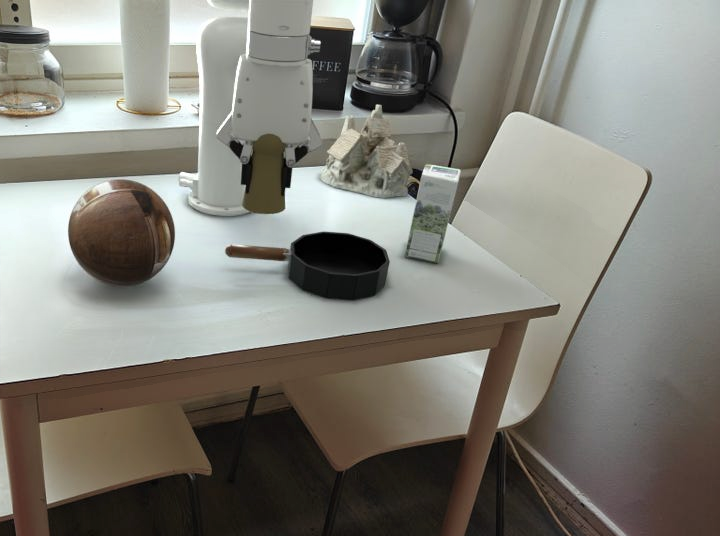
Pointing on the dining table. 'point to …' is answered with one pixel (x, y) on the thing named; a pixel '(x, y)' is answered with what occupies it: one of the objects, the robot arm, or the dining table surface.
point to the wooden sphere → (121, 232)
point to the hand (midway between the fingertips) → (265, 189)
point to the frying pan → (327, 264)
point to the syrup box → (432, 212)
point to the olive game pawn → (266, 176)
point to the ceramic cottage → (368, 159)
